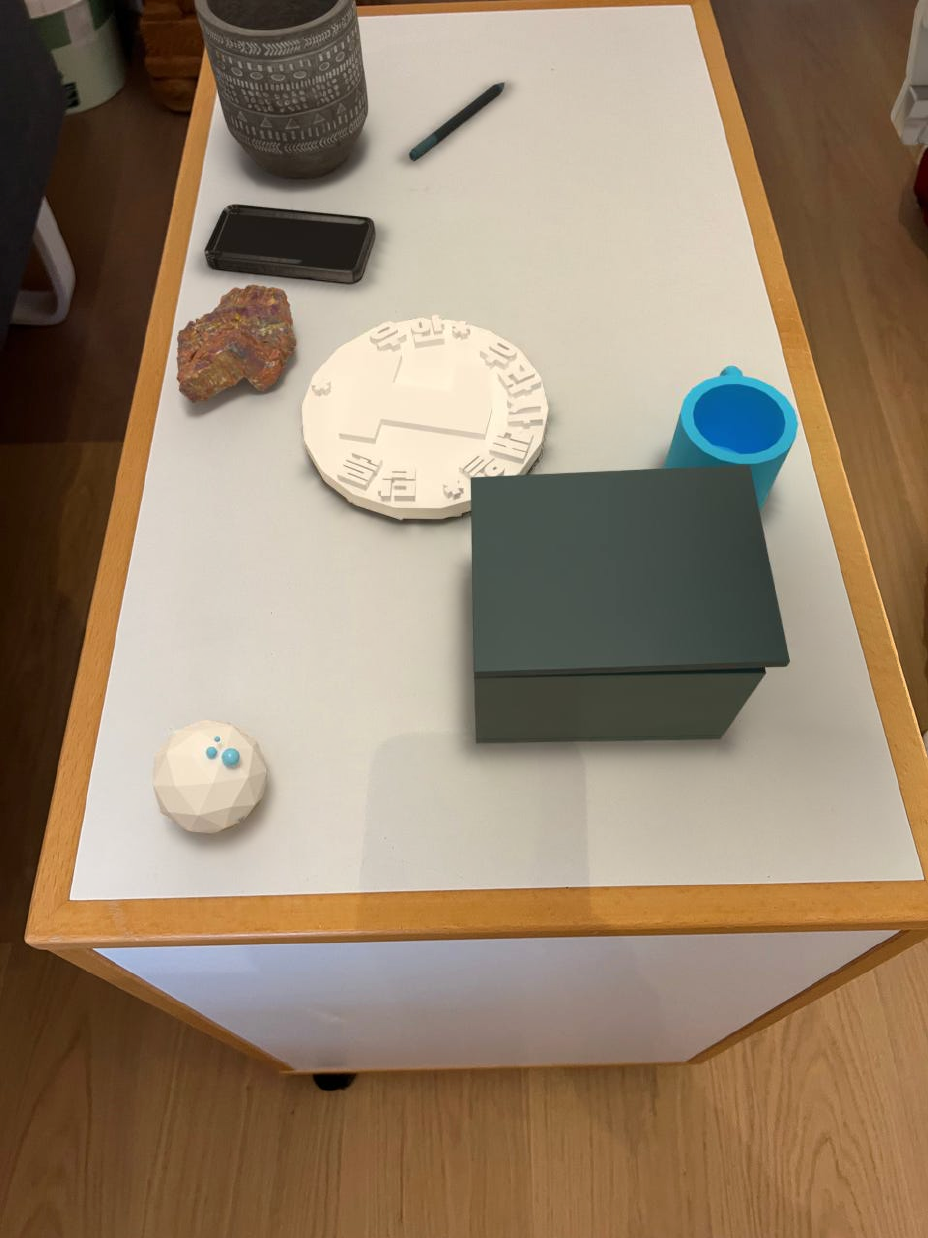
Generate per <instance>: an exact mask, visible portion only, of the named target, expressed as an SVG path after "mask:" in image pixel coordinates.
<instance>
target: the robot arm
mask: <svg viewBox="0 0 928 1238" xmlns="http://www.w3.org/2000/svg"><path fill="white" fill-rule="evenodd" d="M912 21H913V22H912V26H911V27H912V29H911V34H910V35H911V36H910V42H909V49H908V55H907V63H906V68H905V75H906V76H905V78H904V80H903V83H902V85H901V88H900V90H899V93H898V96H897V98H896V100H895V103H894V105H893V108H892V109H891V112H890V120H891V122H892V125H893V127H894V128H895V131H896V133H897V136H898V138H899V141H900V143H901V145H903V146H904V147H905V146H906V147H914V146H916V145H918V144H919V145H922V146H926V147H927V146H928V0H918V1H917V4H916V7H915V9H914V15H913V20H912Z"/></svg>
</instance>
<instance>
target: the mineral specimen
mask: <svg viewBox="0 0 928 1238" xmlns="http://www.w3.org/2000/svg"><path fill="white" fill-rule="evenodd" d="M293 325H294V320H293V317H292V312H291V304H290V302H289V300H288V295H287V294H286V291H285V290H283V289H281V288H277V287H274V286H273V287H272V286H271V287H267V286H265V285H259V284H248V285H246V286H245V287H244V288H243V287H242V288H239V287H233V288H231V290H229V291H228V292H227V293H226V294H223V295H221V297H220V300H219V303H218V305H217V307H215V308H214V309H213V310H212V311H211V312H208V313H204V314H203V316H200V318H195V320H194V321H193V320H189V321H188V323H187V324H186V326H185V327H184V328H183V329H180V330H178V333H177V336H176V341H177V348H176V350H177V351H176V352H177V356H176V364H177V367H176V368H177V374H176V378H175V379H176V381H177V382H178V383H179V385H178V391H179V393H181V394H182V396H184V397H185V398H186V399H187V400H188V401H189V402H190V403H191V404H196V403H198V402H200V401H203V402H206V401H208V400H209V399H210V398H212V397H214V396H215V395H217V394H218V393H220V392H222V391H224V390H225V389H227V388H229V387H230V388H232V387H234V386H237V384H238V383H239V381H241V380H242V379H244V378H246V379H247V380H248V382H249V383H250V384H251V385H252V386H253V387H254V388H255V389H256V390H257V391H259V392H265V391H266V390H267V389H268V388H269V387H271V386H273V385H274V384H275V383H276V382H277V381H278V379H279V377H280V375H281V374H282V372H283V371H284V370H285V366H286V365H287V362H286V361H287V359H288V358H289V357H290V356H291V355H292V354H294V352H295V349H296V346H297V344H298V343H297V339H296V337H295V334H294V331H293V328H292V326H293Z"/></svg>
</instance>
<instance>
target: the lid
mask: <svg viewBox="0 0 928 1238" xmlns="http://www.w3.org/2000/svg"><path fill="white" fill-rule="evenodd" d="M470 525H471V526H470V531H471V533H470V534H471V535H470V536H471V538H470V539H471V541H470V542H471V598H472V599H471V600H472V603H471V605H472V659H473V660H472V664H473V665H472V666H473V667H472V668H473V669H472V671H473V678H474V677H502V676H532V675H561V674H591V673H621V672H651V671H680V670H710V669H740V668H765V669H766V668H769V669H770V668H787V667H788V665H789V664H790V662H791V658H790V653H789V649H788V644H787V638H786V633H785V630H784V624H783V619H782V614H781V610H780V609H781V608H780V605H779V600H778V594H777V590H776V585H775V580H774V576H773V575H774V574H773V571H772V565H771V561H770V556H769V551H768V547H767V540H766V536H765V531H764V527H763V522H762V517H761V510H760V511H759V507H758V502H757V497H756V492H755V487H754V482H753V477H752V472H751V467H750V465H731V466H709V467H687V468H665V469H664V468H647V469H646V468H644V469H625V470H623V469H622V470H621V469H620V470H601V471H582V472H581V471H579V472H559V473H557V472H555V473H538V474H537V473H536V474H533V473H532V474H525V475H511V476H489V477H471V511H470Z"/></svg>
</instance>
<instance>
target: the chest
mask: <svg viewBox="0 0 928 1238" xmlns="http://www.w3.org/2000/svg"><path fill="white" fill-rule="evenodd" d="M766 674H767V670H766V668H740V669H710V670H680V671H651V672H621V673H591V674H561V675H532V676H502V677H474V676H473V694H474V696H473V697H474V733H475V744H502V743H503V744H504V743H506V744H507V743H559V742H560V743H563V742H564V743H565V742H566V743H568V742H573V743H574V742H627V741H628V742H630V741H632V742H633V741H634V742H635V741H637V742H638V741H689V740H690V741H691V740H692V741H693V740H694V741H697V740H721V739H723V737H724V735H726V732H728V730H729V728H731V727H730V726H732V724H733V722H734V721H735V720H736V718H737V717H738V715H739V714H740V712H741V711H742V709H743V708H744V706H745V705H746V704H747V702H748V701H749V699H750V698H751V697H752V695H753V694H754V692H755V690H756V689H757V688H758V686H759V684H760V683H761V682H762V680H763V679H764V677H765V676H766Z"/></svg>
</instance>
